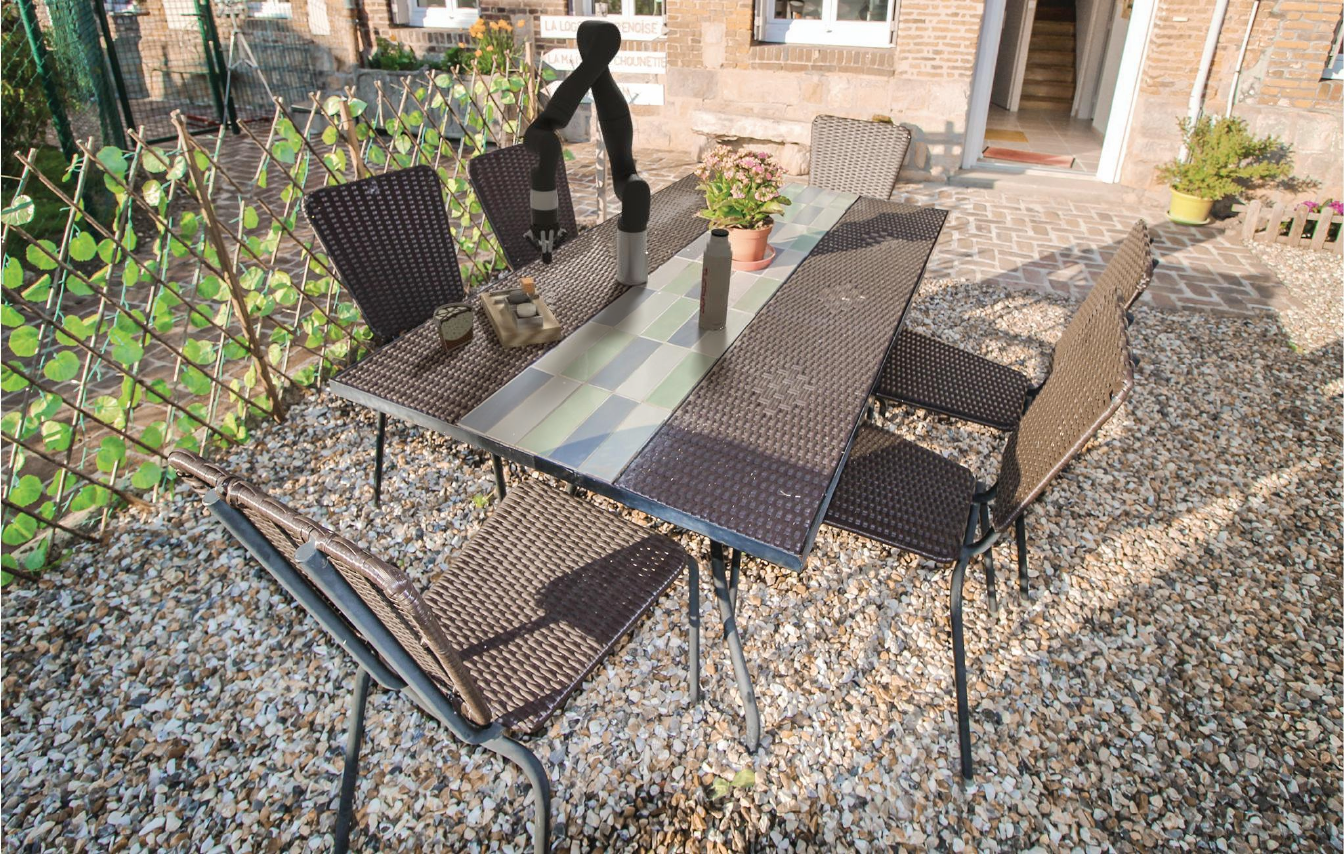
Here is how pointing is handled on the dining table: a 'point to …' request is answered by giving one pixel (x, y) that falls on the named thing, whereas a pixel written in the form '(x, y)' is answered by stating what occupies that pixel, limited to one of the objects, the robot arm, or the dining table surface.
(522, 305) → the cream button
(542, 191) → the robot arm
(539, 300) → the board
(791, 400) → the dining table surface
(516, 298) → the charcoal button
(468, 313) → the food container
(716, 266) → the thermos bottle
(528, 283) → the slider knob
